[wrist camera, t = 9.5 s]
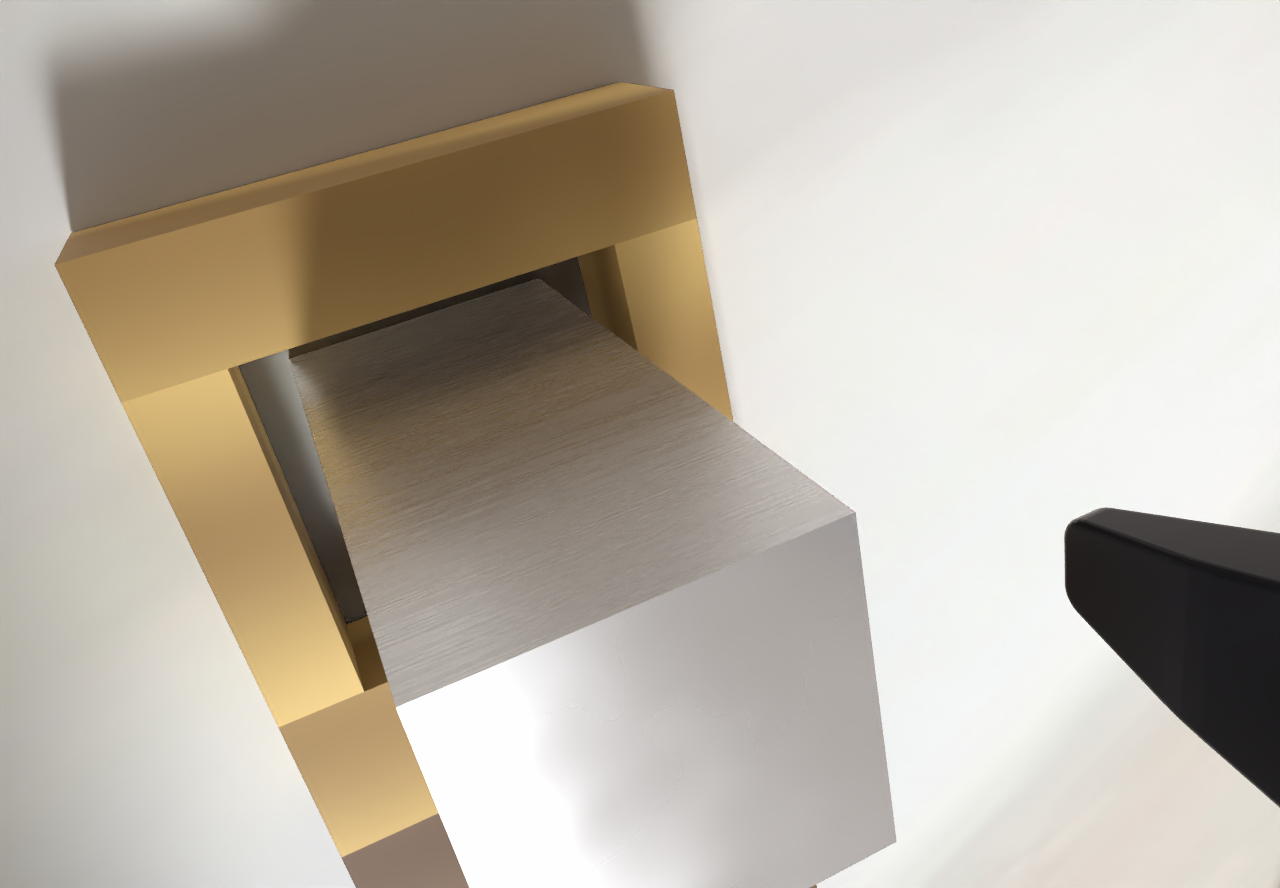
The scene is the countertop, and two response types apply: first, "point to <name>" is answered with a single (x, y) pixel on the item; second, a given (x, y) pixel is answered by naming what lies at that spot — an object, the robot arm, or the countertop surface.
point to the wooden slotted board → (345, 299)
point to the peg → (600, 606)
